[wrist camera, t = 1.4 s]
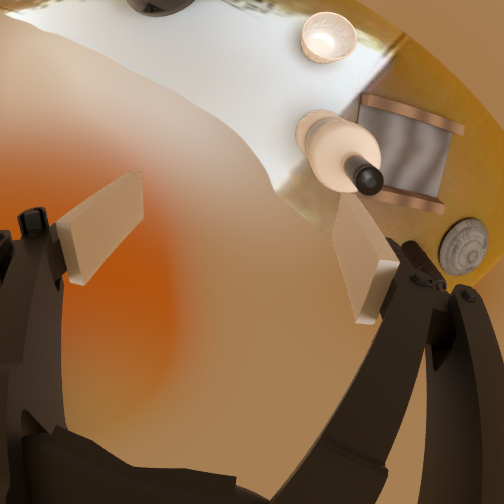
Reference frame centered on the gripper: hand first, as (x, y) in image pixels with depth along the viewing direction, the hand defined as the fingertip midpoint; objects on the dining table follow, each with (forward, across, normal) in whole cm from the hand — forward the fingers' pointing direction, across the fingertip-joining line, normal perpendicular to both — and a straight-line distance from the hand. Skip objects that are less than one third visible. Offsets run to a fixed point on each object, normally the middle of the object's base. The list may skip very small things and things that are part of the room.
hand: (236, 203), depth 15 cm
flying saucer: (+39, +49, -17) cm, 65 cm away
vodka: (+39, +10, 0) cm, 40 cm away
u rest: (+39, +26, 0) cm, 47 cm away
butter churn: (+39, +35, -21) cm, 56 cm away
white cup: (+39, +8, +16) cm, 43 cm away
